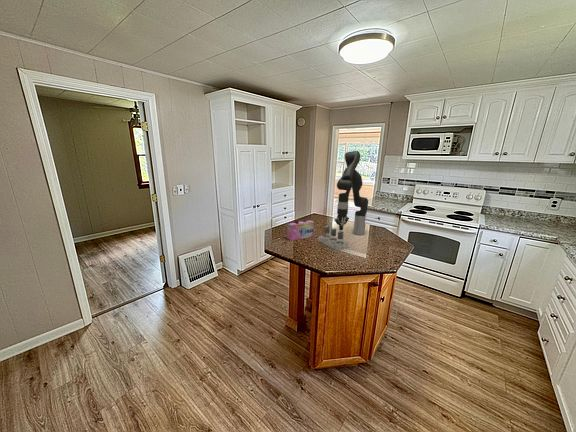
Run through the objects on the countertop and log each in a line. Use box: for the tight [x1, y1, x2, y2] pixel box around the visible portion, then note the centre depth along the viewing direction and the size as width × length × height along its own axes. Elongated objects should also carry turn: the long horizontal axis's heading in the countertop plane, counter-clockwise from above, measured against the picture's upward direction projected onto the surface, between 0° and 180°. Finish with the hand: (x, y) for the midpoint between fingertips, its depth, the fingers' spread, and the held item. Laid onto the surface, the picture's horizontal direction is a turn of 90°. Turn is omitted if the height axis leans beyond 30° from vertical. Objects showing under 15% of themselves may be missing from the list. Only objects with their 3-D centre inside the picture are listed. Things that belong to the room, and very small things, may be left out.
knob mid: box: [330, 227, 337, 237], centre depth 182 cm, size 4×4×5 cm
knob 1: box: [324, 225, 331, 234], centre depth 189 cm, size 4×4×5 cm
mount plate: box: [317, 233, 350, 251], centre depth 184 cm, size 12×22×4 cm, turn 30°
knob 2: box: [337, 230, 344, 240], centre depth 175 cm, size 4×4×5 cm
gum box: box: [286, 219, 315, 241], centre depth 198 cm, size 24×8×14 cm, turn 117°
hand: (340, 230), depth 174 cm, fingers closed
